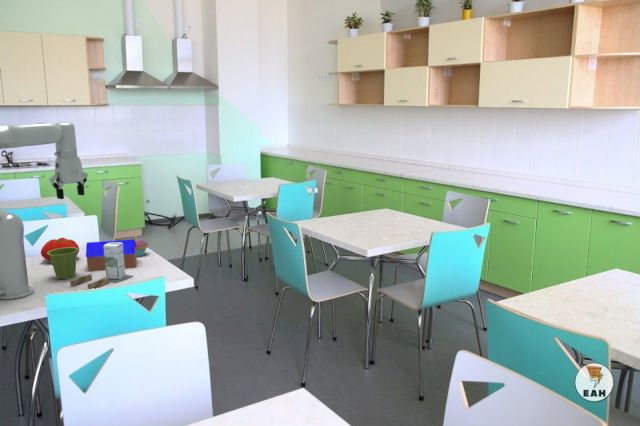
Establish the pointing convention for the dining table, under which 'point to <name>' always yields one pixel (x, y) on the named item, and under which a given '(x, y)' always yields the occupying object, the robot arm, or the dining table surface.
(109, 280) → the pad
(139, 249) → the cupcake
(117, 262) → the syrup box
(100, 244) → the house
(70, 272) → the plant pot
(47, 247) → the tomato
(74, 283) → the rails
